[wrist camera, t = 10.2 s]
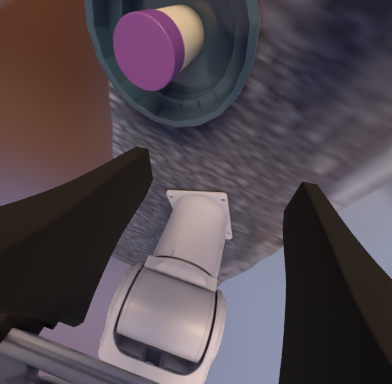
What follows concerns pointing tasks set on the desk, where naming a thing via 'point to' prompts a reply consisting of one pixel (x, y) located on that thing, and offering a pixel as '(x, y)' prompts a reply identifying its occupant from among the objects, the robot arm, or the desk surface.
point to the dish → (197, 69)
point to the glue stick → (157, 44)
